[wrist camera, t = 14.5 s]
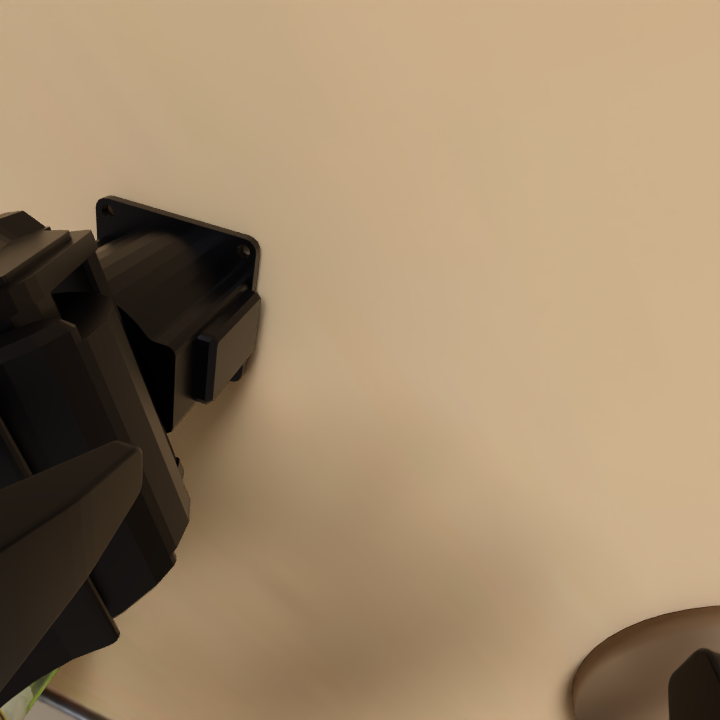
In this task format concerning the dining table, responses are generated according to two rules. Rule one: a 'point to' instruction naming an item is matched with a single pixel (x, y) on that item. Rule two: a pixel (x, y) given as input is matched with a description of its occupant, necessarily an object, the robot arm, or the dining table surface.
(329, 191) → the dining table surface
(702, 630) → the disc
